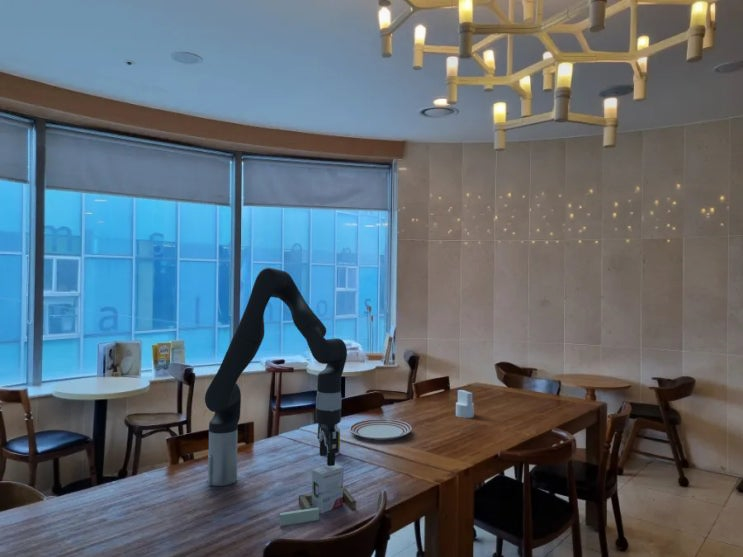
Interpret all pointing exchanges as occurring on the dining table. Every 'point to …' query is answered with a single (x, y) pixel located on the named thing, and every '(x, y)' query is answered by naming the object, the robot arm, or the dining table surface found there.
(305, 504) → the rack bay
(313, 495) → the ink box
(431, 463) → the dining table surface
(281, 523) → the pale green bar
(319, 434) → the robot arm
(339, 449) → the supplement bottle
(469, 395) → the base with upright slab
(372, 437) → the dinner plate
